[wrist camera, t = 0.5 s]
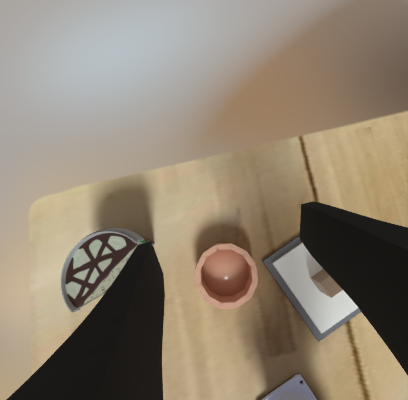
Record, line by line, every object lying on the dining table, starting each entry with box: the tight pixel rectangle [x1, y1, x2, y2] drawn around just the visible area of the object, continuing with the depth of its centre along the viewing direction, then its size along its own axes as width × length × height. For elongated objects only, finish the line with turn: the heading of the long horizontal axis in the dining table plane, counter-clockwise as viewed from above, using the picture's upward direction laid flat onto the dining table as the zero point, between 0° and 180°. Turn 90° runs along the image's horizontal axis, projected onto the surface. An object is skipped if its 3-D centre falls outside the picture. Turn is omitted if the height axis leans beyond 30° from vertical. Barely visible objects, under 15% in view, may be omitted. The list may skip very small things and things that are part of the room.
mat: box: [263, 235, 361, 342], centre depth 33 cm, size 14×14×1 cm
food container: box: [61, 227, 154, 313], centre depth 31 cm, size 12×6×10 cm, turn 138°
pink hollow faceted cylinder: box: [195, 243, 258, 309], centre depth 32 cm, size 9×9×4 cm
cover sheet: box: [272, 243, 358, 333], centre depth 31 cm, size 12×12×4 cm
